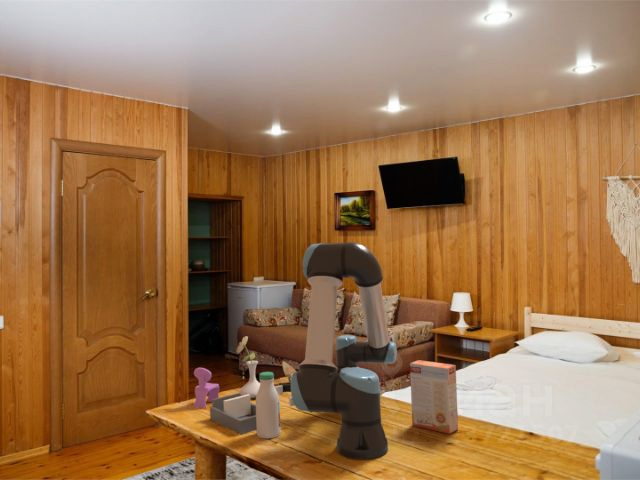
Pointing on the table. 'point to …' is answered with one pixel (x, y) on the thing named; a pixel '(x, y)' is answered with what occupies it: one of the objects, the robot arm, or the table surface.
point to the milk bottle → (267, 408)
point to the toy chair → (204, 388)
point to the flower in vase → (252, 384)
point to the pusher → (238, 406)
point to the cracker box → (434, 396)
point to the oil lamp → (288, 370)
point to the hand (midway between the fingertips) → (277, 397)
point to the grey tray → (230, 421)
